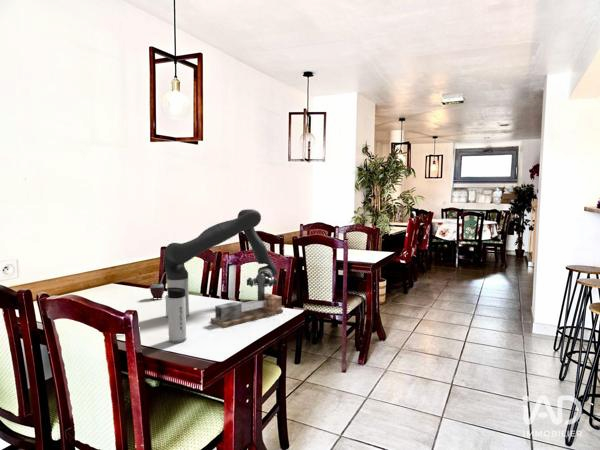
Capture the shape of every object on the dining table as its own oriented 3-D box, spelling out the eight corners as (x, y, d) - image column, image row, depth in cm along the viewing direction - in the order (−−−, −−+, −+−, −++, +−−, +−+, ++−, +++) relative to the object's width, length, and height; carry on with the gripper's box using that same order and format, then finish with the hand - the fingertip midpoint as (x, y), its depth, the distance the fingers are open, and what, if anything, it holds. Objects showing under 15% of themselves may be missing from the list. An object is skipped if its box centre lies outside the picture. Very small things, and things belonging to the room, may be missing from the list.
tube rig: (225, 327, 166) (224, 309, 166) (210, 321, 174) (210, 304, 174) (282, 312, 188) (282, 296, 188) (267, 308, 196) (267, 292, 196)
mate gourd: (147, 299, 214) (147, 271, 213) (158, 296, 221) (157, 269, 220) (158, 300, 211) (158, 272, 210) (169, 297, 218) (168, 270, 218)
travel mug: (170, 337, 154) (169, 286, 152) (187, 337, 154) (186, 285, 153) (166, 343, 147) (164, 289, 146) (184, 343, 148) (183, 289, 147)
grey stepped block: (234, 313, 174) (234, 279, 173) (230, 312, 176) (229, 278, 175) (273, 304, 189) (273, 273, 188) (269, 303, 191) (268, 272, 191)
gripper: (250, 270, 200) (245, 276, 184) (278, 270, 200) (276, 276, 183) (250, 285, 200) (245, 292, 184) (278, 285, 200) (276, 292, 184)
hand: (260, 284), depth 184 cm, fingers open, 8 cm apart
